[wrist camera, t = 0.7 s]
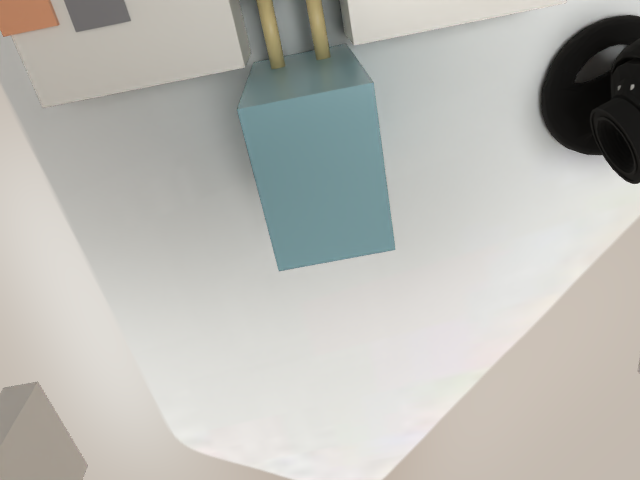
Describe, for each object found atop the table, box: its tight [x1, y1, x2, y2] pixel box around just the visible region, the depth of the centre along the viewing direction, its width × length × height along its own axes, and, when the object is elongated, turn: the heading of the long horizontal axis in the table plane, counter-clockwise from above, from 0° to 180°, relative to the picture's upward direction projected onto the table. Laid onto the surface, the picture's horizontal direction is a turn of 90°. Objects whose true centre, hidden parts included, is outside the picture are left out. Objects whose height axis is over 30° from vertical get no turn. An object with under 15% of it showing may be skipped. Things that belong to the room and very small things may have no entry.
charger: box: [237, 0, 395, 271], centre depth 24 cm, size 10×5×10 cm, turn 10°
